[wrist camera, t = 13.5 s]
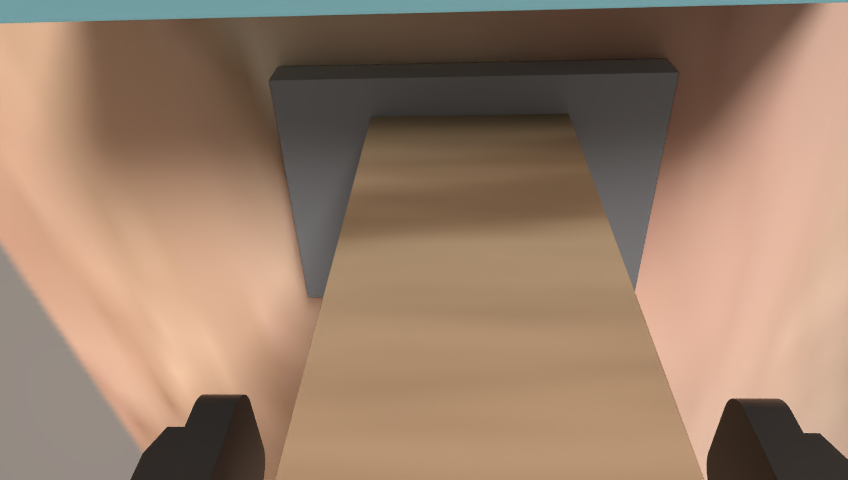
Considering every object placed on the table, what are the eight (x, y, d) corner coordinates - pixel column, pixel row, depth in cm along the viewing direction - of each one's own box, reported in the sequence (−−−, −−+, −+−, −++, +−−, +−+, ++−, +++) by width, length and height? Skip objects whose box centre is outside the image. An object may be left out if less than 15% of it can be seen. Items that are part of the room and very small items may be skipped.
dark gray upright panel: (278, 66, 16) (268, 80, 16) (667, 59, 16) (678, 72, 15) (313, 277, 20) (308, 297, 20) (626, 276, 20) (633, 296, 19)
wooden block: (370, 116, 16) (265, 518, 7) (568, 113, 16) (721, 525, 7) (385, 280, 19) (324, 708, 10) (551, 280, 19) (641, 717, 10)
